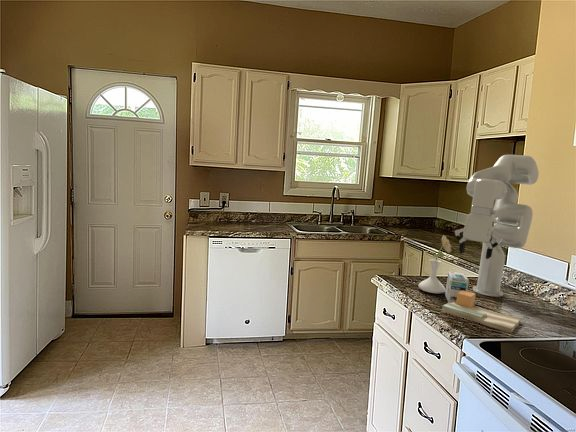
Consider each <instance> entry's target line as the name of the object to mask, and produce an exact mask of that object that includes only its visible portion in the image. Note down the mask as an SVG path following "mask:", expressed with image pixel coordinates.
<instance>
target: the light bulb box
mask: <svg viewBox="0 0 576 432" xmlns="http://www.w3.org/2000/svg"><path fill="white" fill-rule="evenodd" d="M446 278H447V279H446V286H445V289H446V291H445V292H444V293H445V294H444V296H445V298H446V300H447V303H448V302H449V303H452V302H454V301H457V294H458V293H459V292H461V291H462V290H464V291H468V288H469V282H470V280H469V278H468V277H467V276H466V274H465V273H462V272H457V271H456V272H455V271H450V270H449V271H447V277H446Z"/></svg>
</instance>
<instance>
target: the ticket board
mask: <svg viewBox="0 0 576 432" xmlns="http://www.w3.org/2000/svg"><path fill="white" fill-rule="evenodd" d="M442 312H444V314H446V313H447V315H449V314H450V316H452V315H453V316H452V317H456V316H457V318H459V317H460V319H462V318H464V319H463V320H466V319H467V321H469V320H470V321H469V322H473V321H474V322H473V323H476V322H477V323H476V324H479V323H480V324H479V325H482V326H486V327H489V328H492V329H493V328H494V329H497V330H500V331H503V332H507V333H511V334H512V332H513V331H514V330H515V329H516V328H517V327H519V325H520V324H521V321H522V319H521V318H518V317H515V316H512V315H507V314H504V313H499V312H496V311H493V310H489V309H486V308H482V307H479V306H475V305H474V306H473V307H472V308H467V307H463V306H460V305H456V301H454V302H452V303H449V302H448V301H447V303H444V305H442V308H441V313H442Z"/></svg>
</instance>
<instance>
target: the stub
mask: <svg viewBox="0 0 576 432" xmlns="http://www.w3.org/2000/svg"><path fill="white" fill-rule="evenodd" d="M476 296H477V295H476V292H471V291H468V290H467V291H464V290H462V291H461V292H459V293H458V294H457V301H456V305H460V306H463V307H467V308H472V307H473V306H475V301H476Z"/></svg>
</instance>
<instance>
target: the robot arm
mask: <svg viewBox="0 0 576 432" xmlns="http://www.w3.org/2000/svg"><path fill="white" fill-rule="evenodd" d="M539 174H540V173H539V167H538V164H537V162H536V161H535V159H534V157H532V156H530V155H521V154H504V155H501V156H500V157H499V158H498V159H497V161H496V162H495V163H494V165H493V166H491V167H488V168H484V169H481V170H478V171H476V172H474V173H473V174H472V175H471V177H470V178H469V180H468V182H467V184H466V188H465V189H466V193H467V195H469V196H470V197H472V201H471V206H470V213H468V215H467V217H466V220H465V223H464V227H462V228H460V229H455V230H454V235H455V237H456V240H458V242H459V248H458V251H459V254H460V255H461V254H464V253H465V248H466V241H474V242H479V243H482V248H481V256H480V262H479V269H478V275H477V282H476V285H474V286H472V290H473V292H474V293H477V294H479V295H484V296H488V297H495V298H499V297H503V296H504V292H503V290H501V285H502V279H503V273H504V266H505V260H506V255H505V254H506V253H505V251H504V250H503V248H502V247H507V248H512V249H522V248H524V247H525V245H526V243H527V239H528V237H529V232H530V228H531V224H532V221H533V209H532V207H531V206H530V205H527V204H521V203H518V199H519V193H518V192H517V190H516V189H515V187H514V186H513V185H512V184H517V185H530V186H531V185H534V184H536V183H537V182H538V179H539ZM460 233H462V236H461V235H460Z"/></svg>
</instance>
